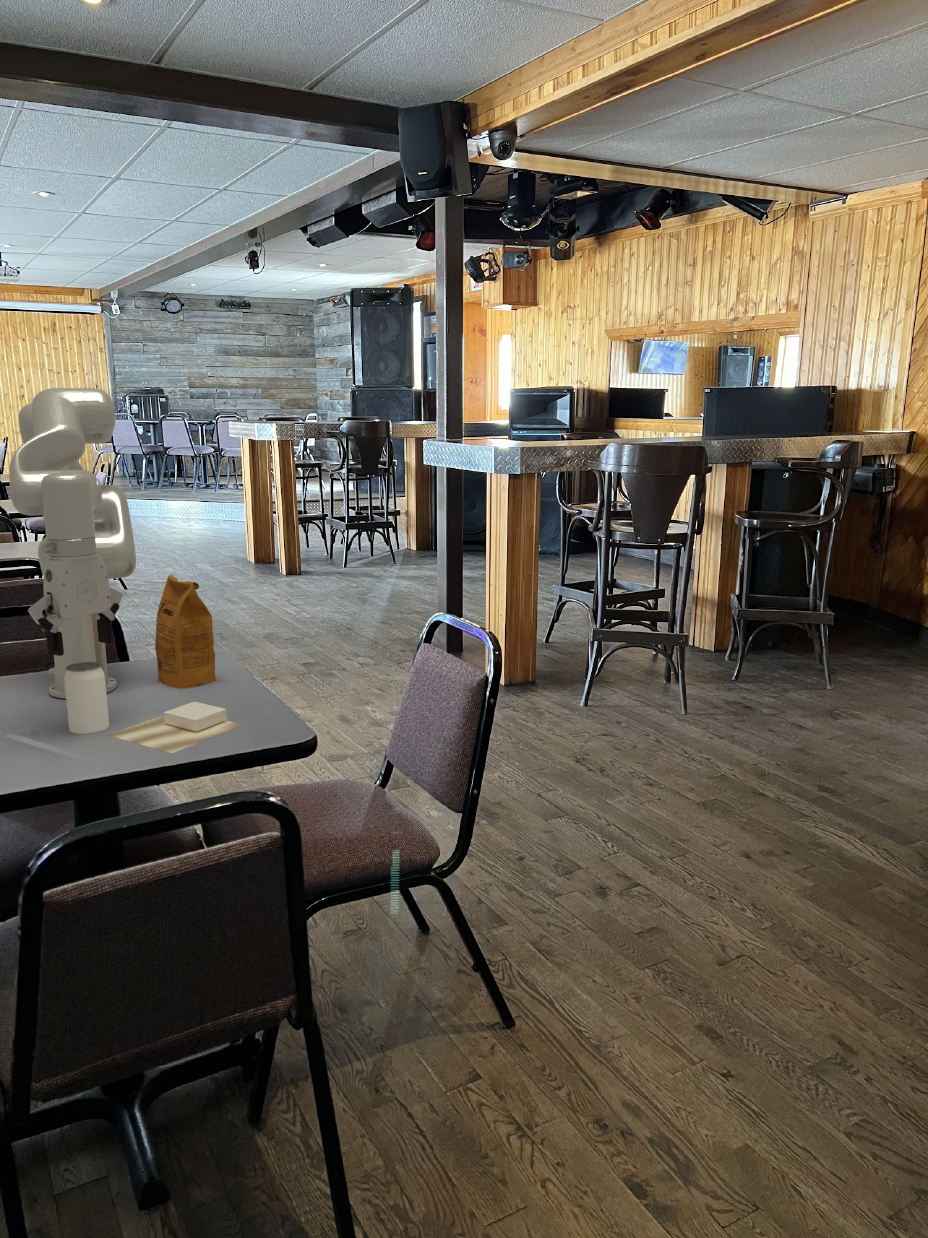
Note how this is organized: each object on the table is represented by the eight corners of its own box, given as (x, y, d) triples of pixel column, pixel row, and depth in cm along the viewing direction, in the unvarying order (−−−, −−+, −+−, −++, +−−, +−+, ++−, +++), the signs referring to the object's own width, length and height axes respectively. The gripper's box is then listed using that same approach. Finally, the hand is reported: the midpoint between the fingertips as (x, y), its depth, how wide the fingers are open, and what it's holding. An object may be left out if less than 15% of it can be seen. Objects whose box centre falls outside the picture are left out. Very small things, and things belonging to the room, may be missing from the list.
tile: (163, 712, 161) (195, 720, 157) (194, 701, 167) (226, 709, 163) (164, 724, 162) (196, 733, 157) (195, 713, 167) (226, 721, 163)
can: (95, 740, 157) (89, 672, 154) (61, 737, 158) (54, 670, 155) (117, 727, 163) (111, 662, 160) (84, 725, 164) (77, 660, 162)
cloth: (107, 740, 157) (107, 735, 156) (180, 714, 170) (180, 709, 170) (172, 759, 148) (172, 753, 148) (244, 730, 162) (243, 724, 162)
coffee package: (197, 672, 196) (190, 570, 191) (222, 686, 187) (215, 579, 182) (151, 681, 190) (142, 576, 185) (175, 695, 181) (166, 585, 176)
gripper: (38, 556, 144) (49, 662, 147) (130, 543, 158) (138, 640, 162) (10, 553, 148) (21, 656, 151) (101, 541, 162) (110, 636, 166)
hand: (81, 648), depth 157 cm, fingers open, 9 cm apart
